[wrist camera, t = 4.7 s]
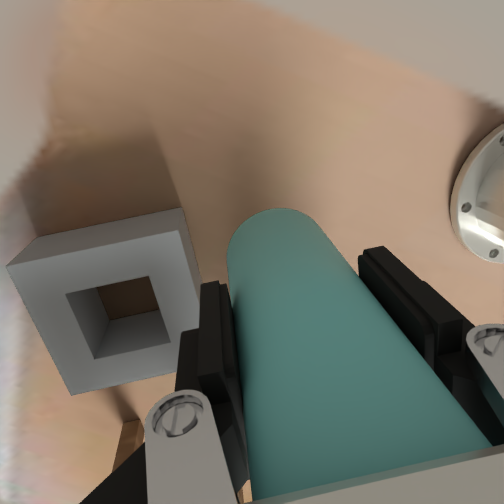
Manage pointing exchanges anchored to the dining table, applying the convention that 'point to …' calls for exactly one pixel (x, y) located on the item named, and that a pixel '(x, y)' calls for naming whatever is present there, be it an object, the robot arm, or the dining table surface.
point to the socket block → (90, 304)
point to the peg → (327, 366)
